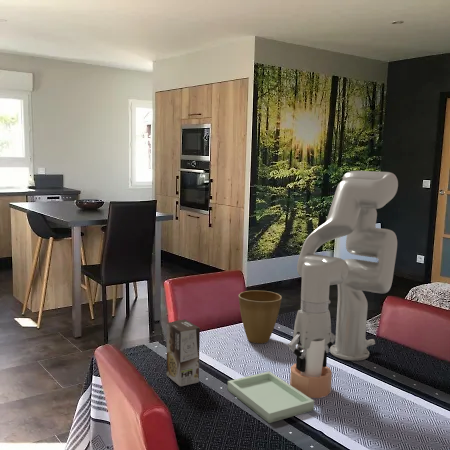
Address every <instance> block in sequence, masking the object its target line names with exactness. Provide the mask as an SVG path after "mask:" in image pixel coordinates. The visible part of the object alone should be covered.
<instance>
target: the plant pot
mask: <svg viewBox="0 0 450 450" xmlns="http://www.w3.org/2000/svg"><path fill="white" fill-rule="evenodd" d="M282 300H283V299H282V295H280V293H277V292H273V291H267V290H246V291H242V292H240V293H239V294H238V302H239V310H240V316H241V322H242V325H243V328H244V333H245V336H246V338H247V341H249V342H250V343H252V344H253V343H254V344H266V343H268V342H270V341H269V340H270V339H271V336H272V334H273V331H274V330H275V326H276V323H277V319H278V316H279V312H280V308H281V304H282Z"/></svg>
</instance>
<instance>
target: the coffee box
mask: <svg viewBox="0 0 450 450" xmlns="http://www.w3.org/2000/svg"><path fill="white" fill-rule="evenodd" d="M200 330H201V328H200V326H197V325H196V324H194V323H192V322H191V321H189V320H187V319H178V320H175V321H170V322H166V376H167V377H168V378H170V379H171V381H172V382H174V384H175V383H176V384H177V386H179V387H184V386H188V385H192V384H197V383H198V384H199V382H200V348H201V347H200V344H201V342H200V341H201V340H200V337H201V336H200V334H201V331H200Z"/></svg>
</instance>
